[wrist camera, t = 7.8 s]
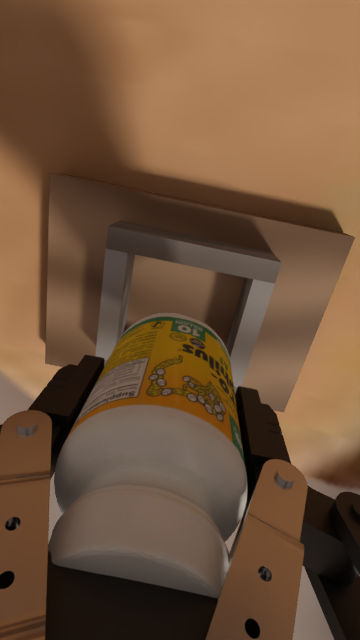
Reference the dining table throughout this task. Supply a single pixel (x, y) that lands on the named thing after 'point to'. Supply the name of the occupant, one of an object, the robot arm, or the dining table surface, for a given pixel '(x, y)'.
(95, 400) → the supplement bottle
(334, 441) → the dining table surface
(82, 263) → the socket stand
